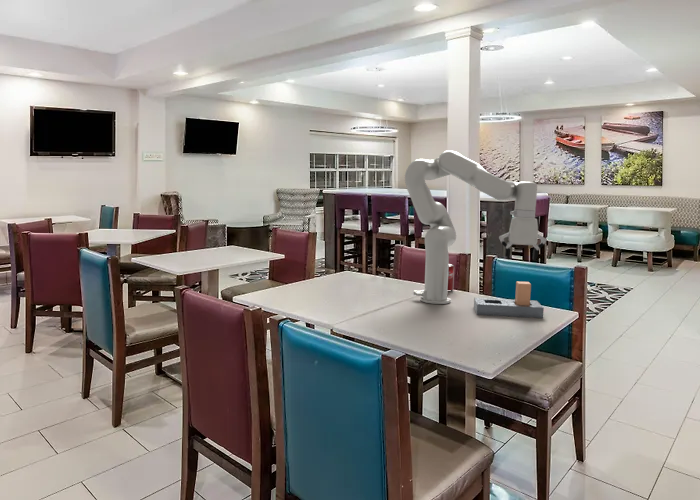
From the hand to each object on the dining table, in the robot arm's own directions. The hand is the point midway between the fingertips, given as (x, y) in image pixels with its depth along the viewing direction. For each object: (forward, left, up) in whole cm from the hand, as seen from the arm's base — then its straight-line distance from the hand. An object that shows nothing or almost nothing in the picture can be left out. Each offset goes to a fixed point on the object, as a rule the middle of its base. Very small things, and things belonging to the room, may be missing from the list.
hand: (521, 259), depth 194 cm
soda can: (-26, +37, -21) cm, 50 cm away
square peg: (+1, -2, -21) cm, 21 cm away
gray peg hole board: (-4, -2, -21) cm, 21 cm away
